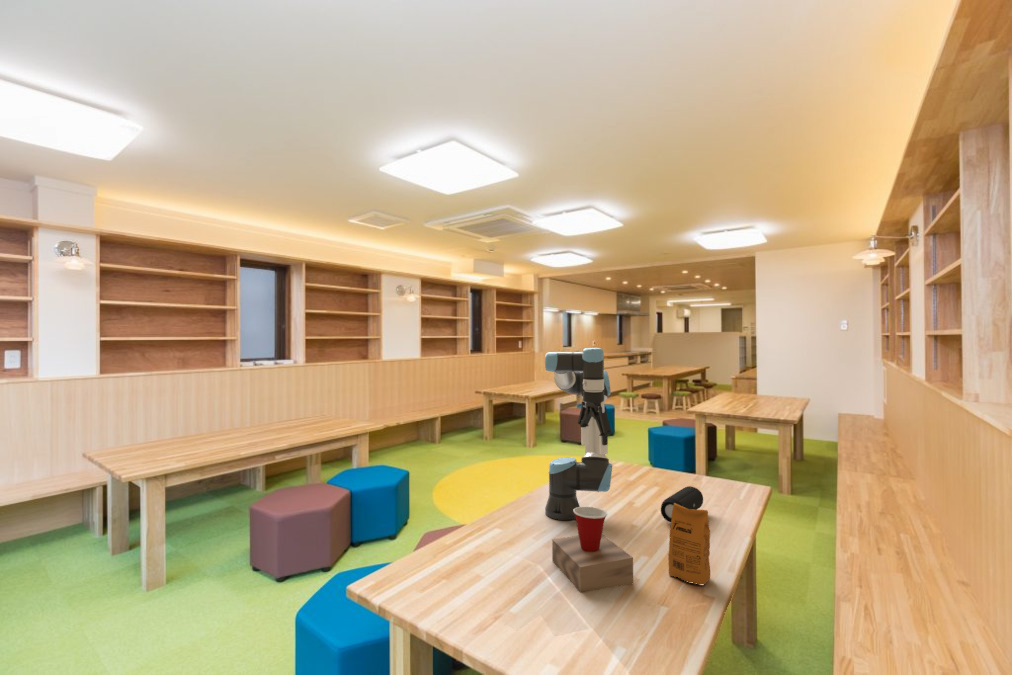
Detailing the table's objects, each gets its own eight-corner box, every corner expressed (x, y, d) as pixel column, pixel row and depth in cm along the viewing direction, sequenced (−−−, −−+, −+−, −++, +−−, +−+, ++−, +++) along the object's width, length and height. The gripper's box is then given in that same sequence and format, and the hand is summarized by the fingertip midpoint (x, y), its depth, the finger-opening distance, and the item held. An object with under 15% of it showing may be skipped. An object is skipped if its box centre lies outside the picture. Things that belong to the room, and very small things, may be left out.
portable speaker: (682, 528, 181) (682, 502, 181) (658, 521, 188) (658, 497, 188) (705, 510, 200) (705, 487, 200) (682, 505, 207) (682, 482, 207)
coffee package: (675, 564, 152) (675, 497, 152) (714, 576, 143) (714, 506, 143) (663, 575, 144) (662, 505, 144) (703, 589, 136) (702, 515, 136)
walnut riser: (552, 563, 153) (552, 539, 153) (599, 555, 158) (599, 531, 158) (580, 594, 134) (580, 567, 134) (633, 583, 139) (632, 557, 139)
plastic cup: (613, 547, 147) (613, 509, 147) (596, 559, 139) (596, 519, 139) (584, 537, 154) (584, 502, 154) (566, 548, 146) (566, 511, 146)
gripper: (568, 387, 175) (569, 441, 176) (601, 395, 152) (602, 459, 152) (586, 386, 178) (586, 440, 178) (621, 394, 154) (621, 457, 154)
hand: (593, 449), depth 165 cm, fingers open, 13 cm apart
